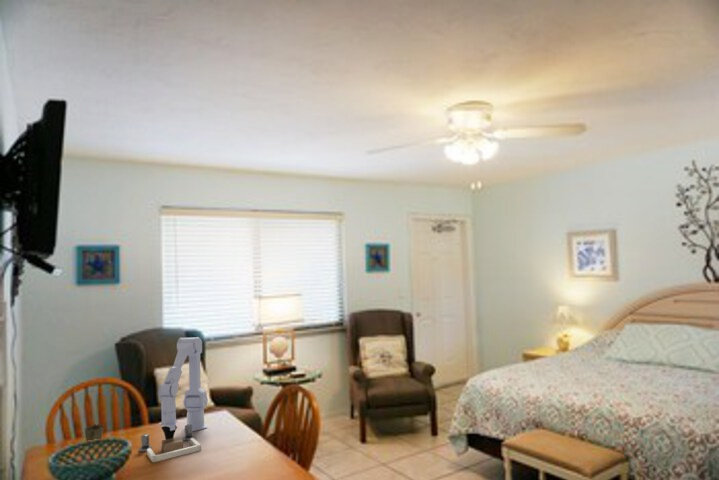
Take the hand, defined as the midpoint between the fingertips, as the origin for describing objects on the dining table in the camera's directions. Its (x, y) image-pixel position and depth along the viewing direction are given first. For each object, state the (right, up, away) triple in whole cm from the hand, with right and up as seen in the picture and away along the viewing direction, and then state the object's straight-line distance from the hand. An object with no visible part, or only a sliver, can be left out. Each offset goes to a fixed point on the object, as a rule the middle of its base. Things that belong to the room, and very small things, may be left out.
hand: (169, 443), depth 204 cm
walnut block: (+3, -1, -4) cm, 5 cm away
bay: (+5, -1, -7) cm, 8 cm away
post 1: (-9, -2, -2) cm, 10 cm away
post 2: (+5, -2, +8) cm, 10 cm away
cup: (-36, -4, +7) cm, 37 cm away
